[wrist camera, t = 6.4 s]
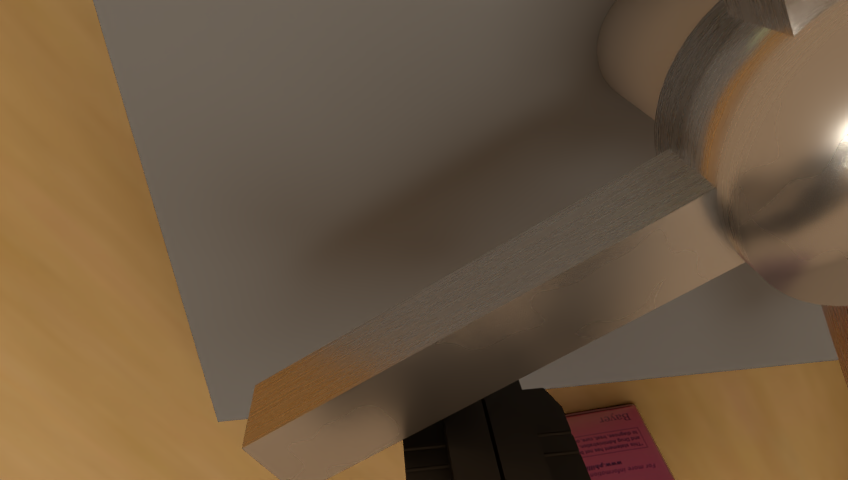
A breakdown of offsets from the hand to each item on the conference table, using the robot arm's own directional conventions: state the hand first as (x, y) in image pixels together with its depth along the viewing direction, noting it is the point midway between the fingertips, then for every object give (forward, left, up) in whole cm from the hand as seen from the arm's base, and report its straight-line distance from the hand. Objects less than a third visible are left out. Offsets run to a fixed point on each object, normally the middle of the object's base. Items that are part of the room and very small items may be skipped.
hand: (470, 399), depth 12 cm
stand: (-5, -6, -7) cm, 10 cm away
